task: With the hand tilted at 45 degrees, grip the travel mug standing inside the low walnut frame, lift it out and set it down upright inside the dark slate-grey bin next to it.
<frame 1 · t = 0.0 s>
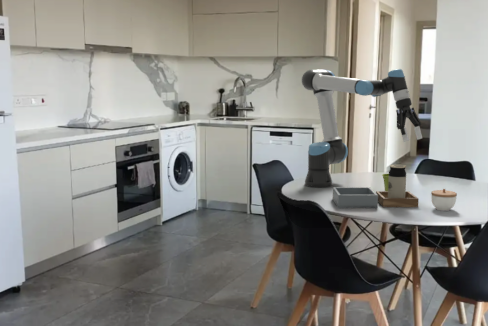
hand: (413, 140, 269), 28 cm above the table, tool tilted 20°, fingers open, 13 cm apart
lidded jar: (443, 209, 242), on the table
walnut frame: (396, 203, 254), on the table
plant pot: (390, 191, 281), on the table
travel mug: (396, 203, 254), resting in walnut frame
slate bin: (354, 203, 254), on the table
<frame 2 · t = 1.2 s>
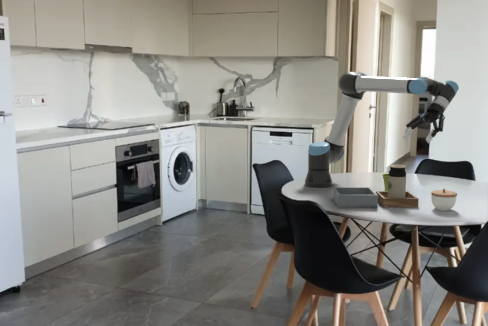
hand: (415, 140, 256), 29 cm above the table, tool tilted 45°, fingers open, 13 cm apart
nothing on the table moved.
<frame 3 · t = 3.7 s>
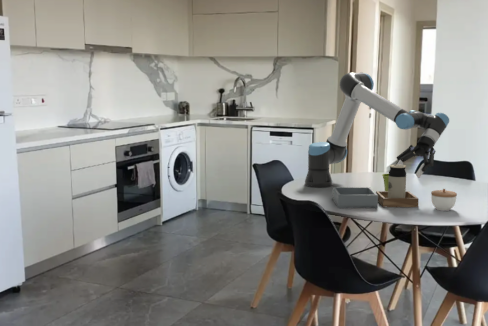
hand: (405, 174, 254), 14 cm above the table, tool tilted 45°, fingers open, 13 cm apart
nothing on the table moved.
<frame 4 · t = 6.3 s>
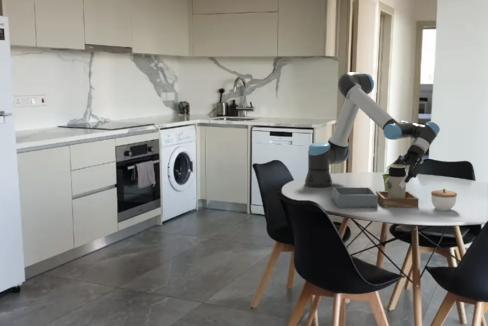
hand: (393, 185, 251), 9 cm above the table, tool tilted 45°, fingers closed on travel mug, 8 cm apart
travel mug: (396, 203, 254), resting in walnut frame, touching gripper
everything else where it was.
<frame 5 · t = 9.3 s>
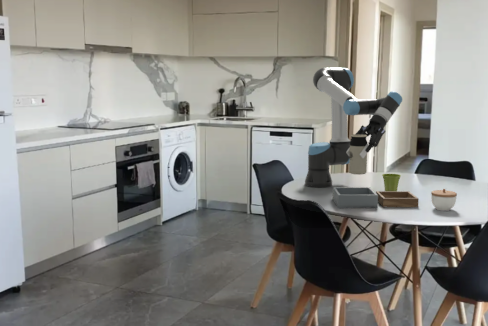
hand: (354, 155, 249), 23 cm above the table, tool tilted 45°, fingers closed on travel mug, 8 cm apart
travel mug: (357, 173, 251), point 14 cm above the table, touching gripper
everything else where it was.
when the fingers open (11 cm above the table, at t = 12.6 s): travel mug drops 1 cm, resting on slate bin.
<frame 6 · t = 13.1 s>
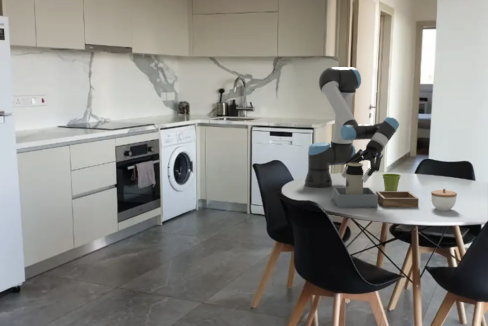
hand: (352, 178, 251), 12 cm above the table, tool tilted 45°, fingers open, 13 cm apart
travel mug: (353, 201, 254), point 1 cm above the table, touching slate bin
everything else where it was.
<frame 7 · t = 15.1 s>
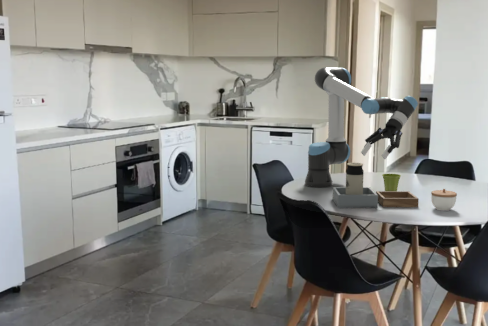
hand: (372, 155, 256), 22 cm above the table, tool tilted 45°, fingers open, 13 cm apart
nothing on the table moved.
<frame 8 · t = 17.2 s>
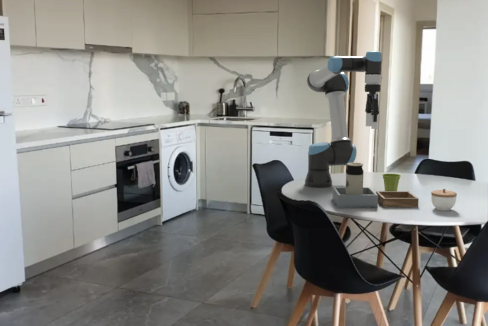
hand: (371, 127, 263), 35 cm above the table, tool pointing down, fingers open, 13 cm apart
nothing on the table moved.
at the end: travel mug inside the target area on the slate bin (0.3 cm from its centre), point 0.8 cm above the slate bin's base; travel mug tilted 0°; the gripper is holding nothing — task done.
